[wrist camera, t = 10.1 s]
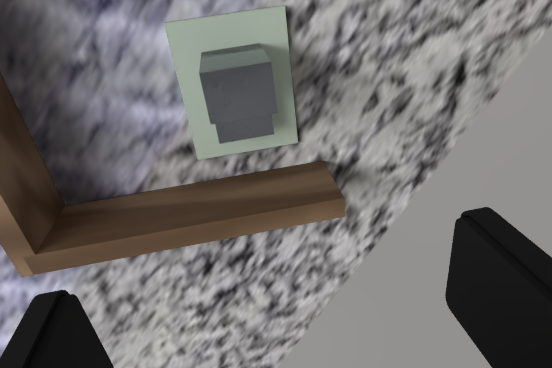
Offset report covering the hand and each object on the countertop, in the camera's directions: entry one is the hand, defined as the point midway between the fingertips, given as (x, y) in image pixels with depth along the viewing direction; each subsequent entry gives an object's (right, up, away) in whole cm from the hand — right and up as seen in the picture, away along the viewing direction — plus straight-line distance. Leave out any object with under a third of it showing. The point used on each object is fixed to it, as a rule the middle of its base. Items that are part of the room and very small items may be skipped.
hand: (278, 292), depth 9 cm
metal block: (-3, +10, +18) cm, 21 cm away
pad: (-3, +10, +18) cm, 21 cm away
